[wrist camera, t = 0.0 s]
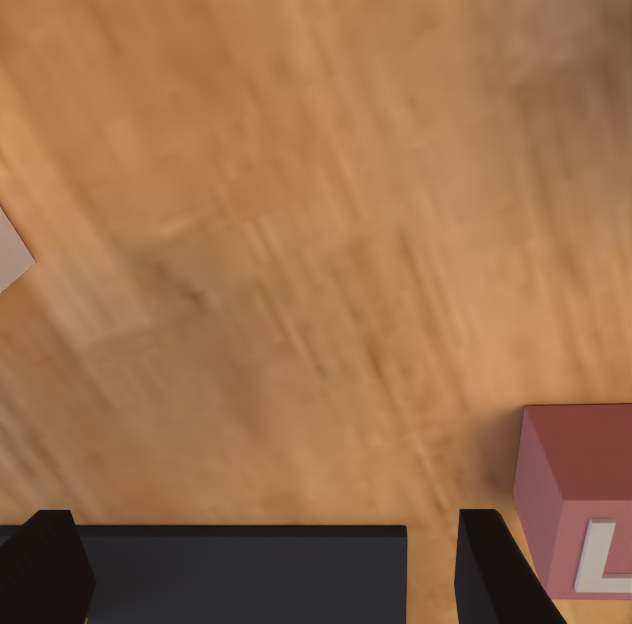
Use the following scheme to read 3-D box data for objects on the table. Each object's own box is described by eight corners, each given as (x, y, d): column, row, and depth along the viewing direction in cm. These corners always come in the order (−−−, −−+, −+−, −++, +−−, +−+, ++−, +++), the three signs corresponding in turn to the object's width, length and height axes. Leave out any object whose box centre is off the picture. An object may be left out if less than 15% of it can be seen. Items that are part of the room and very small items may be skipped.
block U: (630, 495, 23) (691, 607, 19) (511, 495, 24) (546, 605, 19) (655, 402, 21) (730, 506, 17) (523, 405, 21) (565, 506, 17)
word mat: (404, 664, 29) (405, 676, 29) (-29, 656, 31) (-35, 667, 31) (406, 525, 25) (407, 537, 24) (-105, 525, 27) (-114, 536, 26)
